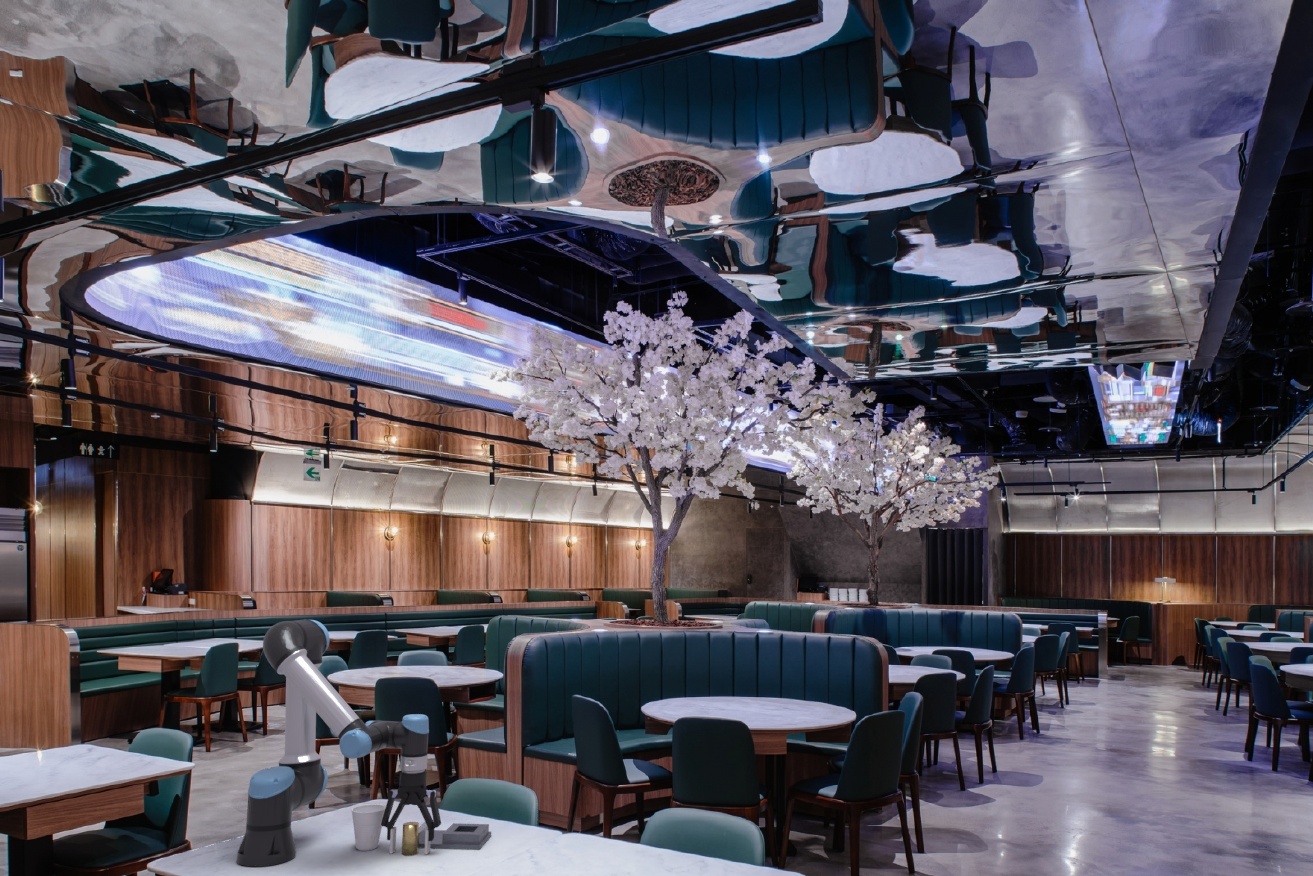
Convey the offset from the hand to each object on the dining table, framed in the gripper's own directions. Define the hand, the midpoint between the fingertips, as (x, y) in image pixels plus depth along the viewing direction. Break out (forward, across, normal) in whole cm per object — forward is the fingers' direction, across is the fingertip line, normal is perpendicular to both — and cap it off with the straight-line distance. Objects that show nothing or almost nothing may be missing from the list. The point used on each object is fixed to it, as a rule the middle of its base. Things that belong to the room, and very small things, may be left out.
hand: (409, 852), depth 255 cm
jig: (0, +8, +12) cm, 14 cm away
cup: (0, -14, +4) cm, 15 cm away
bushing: (0, 0, 0) cm, 0 cm away
